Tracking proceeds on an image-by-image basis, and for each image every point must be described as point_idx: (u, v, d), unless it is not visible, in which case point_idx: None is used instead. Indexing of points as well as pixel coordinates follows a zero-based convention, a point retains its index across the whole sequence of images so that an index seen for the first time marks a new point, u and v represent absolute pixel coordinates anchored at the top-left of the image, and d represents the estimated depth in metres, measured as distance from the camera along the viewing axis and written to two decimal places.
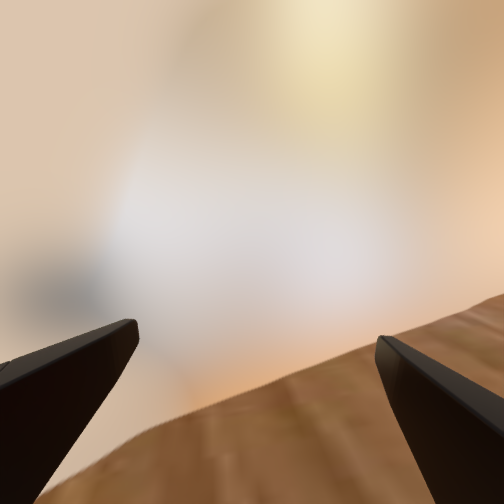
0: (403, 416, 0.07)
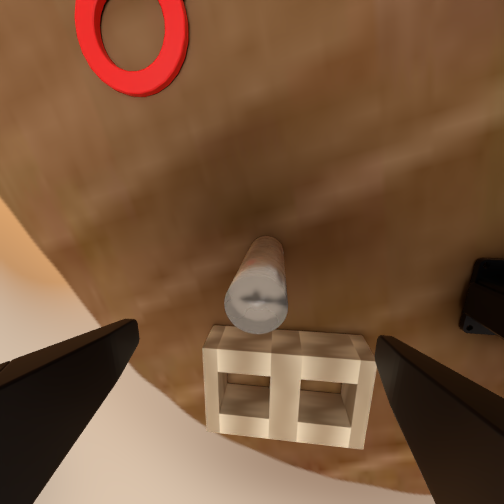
0: (403, 416, 0.07)
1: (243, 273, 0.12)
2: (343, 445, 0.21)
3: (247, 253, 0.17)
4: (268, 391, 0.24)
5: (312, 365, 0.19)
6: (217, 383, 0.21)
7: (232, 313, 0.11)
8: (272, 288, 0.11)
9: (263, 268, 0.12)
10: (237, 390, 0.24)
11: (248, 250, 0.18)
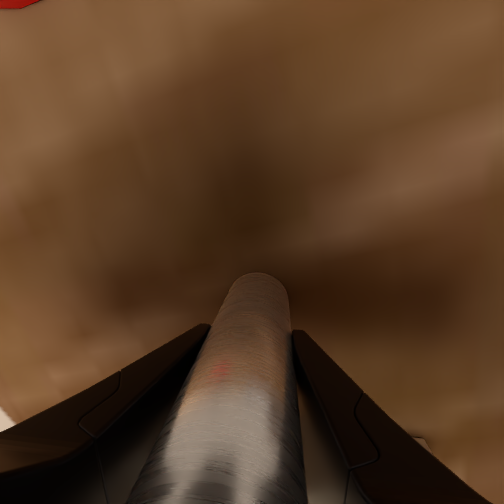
0: None
1: None
2: None
3: (212, 328, 0.08)
4: None
5: None
6: None
7: None
8: None
9: None
10: None
11: (219, 310, 0.09)
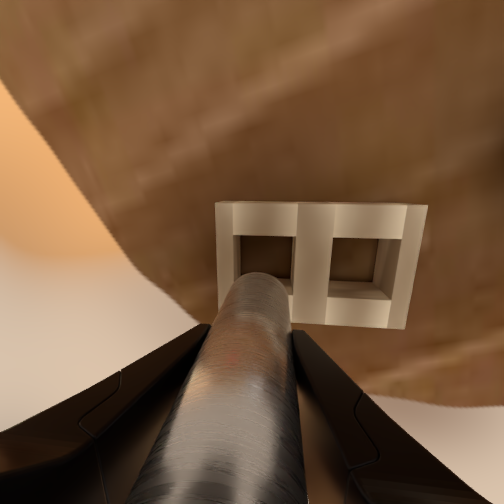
0: None
1: None
2: (381, 325, 0.18)
3: (212, 327, 0.08)
4: (288, 281, 0.21)
5: (347, 217, 0.16)
6: (232, 251, 0.17)
7: None
8: None
9: None
10: None
11: (219, 310, 0.09)
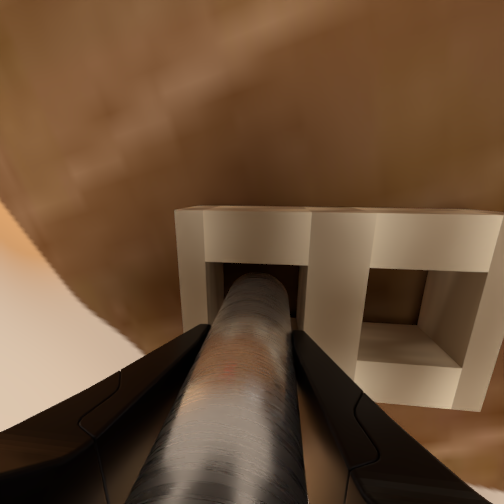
0: None
1: None
2: (442, 404, 0.11)
3: (212, 327, 0.08)
4: (294, 322, 0.14)
5: (396, 234, 0.09)
6: (205, 287, 0.11)
7: None
8: None
9: None
10: None
11: (219, 310, 0.09)
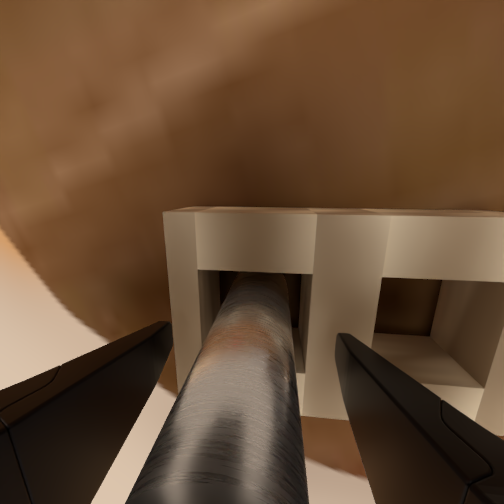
0: (351, 411, 0.07)
1: (179, 434, 0.04)
2: None
3: (223, 306, 0.09)
4: (296, 333, 0.13)
5: (413, 240, 0.08)
6: (197, 297, 0.10)
7: None
8: None
9: (242, 406, 0.04)
10: None
11: (228, 293, 0.10)
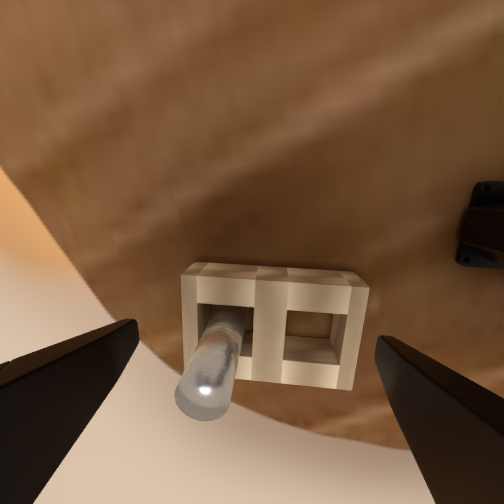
0: (403, 416, 0.07)
1: (193, 366, 0.13)
2: (331, 386, 0.19)
3: (209, 321, 0.18)
4: (253, 335, 0.22)
5: (299, 293, 0.18)
6: (196, 316, 0.19)
7: (181, 403, 0.13)
8: (215, 386, 0.12)
9: (212, 360, 0.13)
10: None
11: (213, 314, 0.20)
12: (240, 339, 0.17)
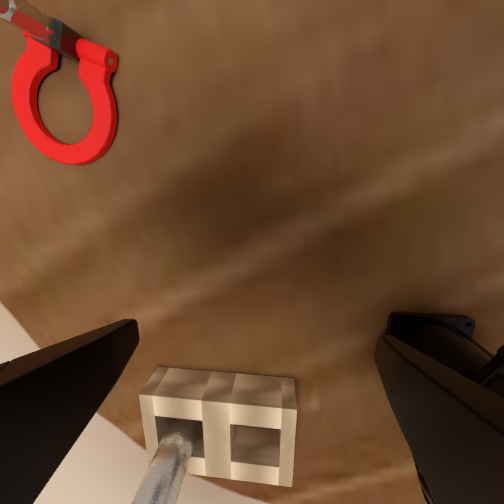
0: (403, 416, 0.07)
1: None
2: (273, 483, 0.22)
3: (165, 433, 0.21)
4: None
5: (239, 412, 0.20)
6: (155, 426, 0.22)
7: None
8: None
9: (153, 496, 0.17)
10: None
11: (170, 420, 0.23)
12: (188, 454, 0.20)
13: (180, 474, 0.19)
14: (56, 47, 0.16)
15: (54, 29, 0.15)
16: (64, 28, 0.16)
